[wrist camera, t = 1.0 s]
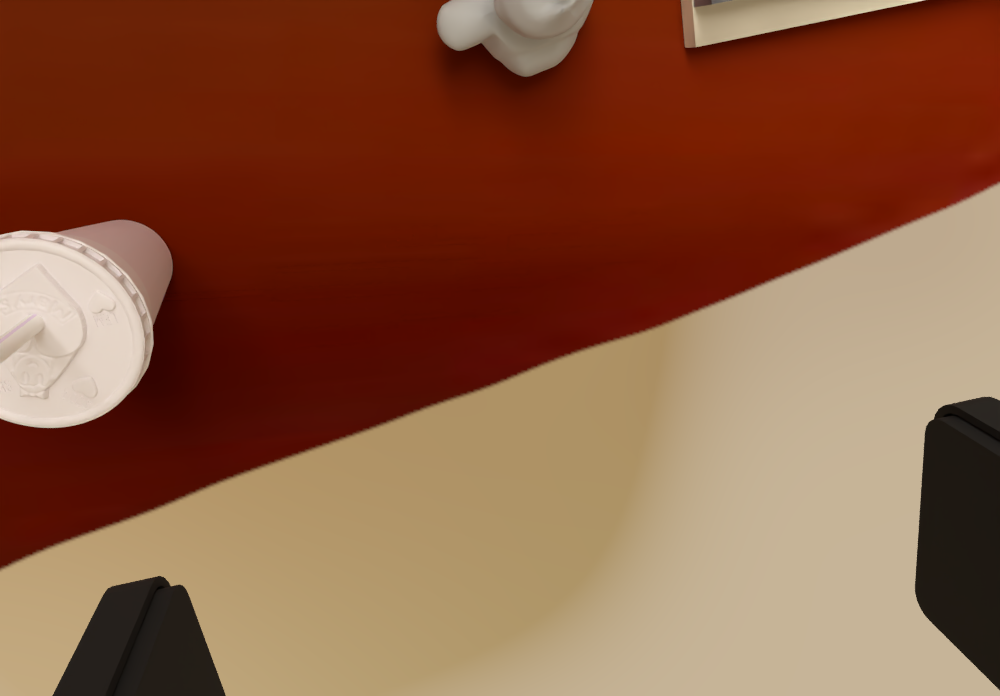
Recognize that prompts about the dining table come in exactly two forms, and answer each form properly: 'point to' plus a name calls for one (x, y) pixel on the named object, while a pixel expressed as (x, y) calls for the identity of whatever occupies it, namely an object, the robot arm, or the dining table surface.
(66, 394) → the smoothie
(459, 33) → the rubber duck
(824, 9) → the board
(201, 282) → the dining table surface
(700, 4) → the socket
